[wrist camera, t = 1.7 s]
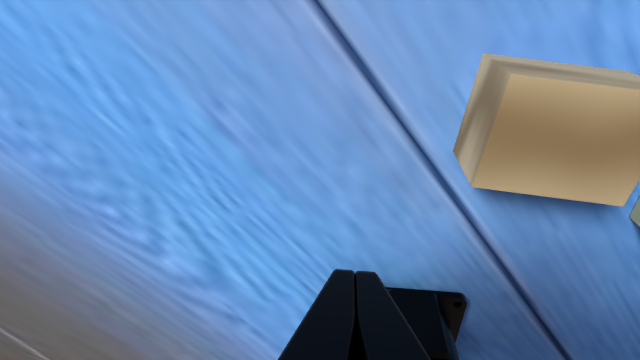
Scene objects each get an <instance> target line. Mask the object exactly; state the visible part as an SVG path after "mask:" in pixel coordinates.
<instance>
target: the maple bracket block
mask: <svg viewBox="0 0 640 360" xmlns="http://www.w3.org/2000/svg"><path fill="white" fill-rule="evenodd" d="M453 152H454V154H455V156H456V158H457V160H458V162H459V164H460V166H461V168H462V170H463V172H464V174H465V175H466V177H467V179H468V181H469V183H470V185H471V187H475V188H483V189H490V190H498V191H506V192H514V193H521V194H529V195H537V196H545V197H552V198H560V199H568V200H576V201H583V202H591V203H599V204H607V205H614V206H622V207H623V206H624V205H625V203H626V201H627V200H628V198H629V196H630V194H631V193H632V191H633V189H634V188H635V186H636V184H637V183H638V181H639V179H640V76H639V75H637V74H634V73H632V72H629V71H622V70H614V69H606V68H598V67H590V66H581V65H573V64H565V63H557V62H549V61H541V60H533V59H525V58H517V57H509V56H501V55H493V54H485V53H483V55H482V58H481V62H480V65H479V68H478V72H477V75H476V78H475V81H474V85H473V88H472V91H471V94H470V98H469V101H468V104H467V107H466V111H465V114H464V117H463V120H462V124H461V127H460V130H459V133H458V137H457V140H456V143H455V146H454V150H453Z"/></svg>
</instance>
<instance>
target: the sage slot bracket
mask: <svg viewBox="0 0 640 360" xmlns="http://www.w3.org/2000/svg"><path fill="white" fill-rule="evenodd" d="M629 217H630V218H631V219H632V220H633V221H634V222H635V223H636V224H637V225H638V226H639V227H640V197H639V199H638V201H637V203H636V205H635V207H634V209H633V211H632V213H631V214H630V216H629Z"/></svg>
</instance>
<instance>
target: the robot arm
mask: <svg viewBox="0 0 640 360" xmlns="http://www.w3.org/2000/svg"><path fill="white" fill-rule="evenodd" d="M456 301H459V302H456ZM466 305H467V302H466V299H465V297H464V295H463V294H461V293H453V292H440V291H427V290H413V289H400V288H387V287H385V286H384V285H383V283H382V281H381V280H380V278H379V277H378V275H377V274H376V273H375V272H369V271H357V272H356V273H354V271H352V270H342V269H336V270H334V271H333V272H332V274H331V276H330V277H329V279H328V280H327V282H326V284H325V285H324V287H323V288H322V290H321V291H320V293H319V295H318V296H317V298H316V299H315V301H314V303H313V304H312V306H311V307H310V309H309V311H308V312H307V314H306V315H305V317H304V319H303V320H302V322H301V323H300V325H299V327H298V328H297V330H296V331H295V333H294V335H293V336H292V338H291V339H290V341H289V343H288V344H287V346H286V347H285V349H284V350H283V352H282V354H281V355H280V357H279V358H278V360H459V356H458V353H457V349H456V345H455V341H456V338H457V335H458V332H459V328H460V325H461V322H462V318H463V315H464V312H465V309H466Z"/></svg>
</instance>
